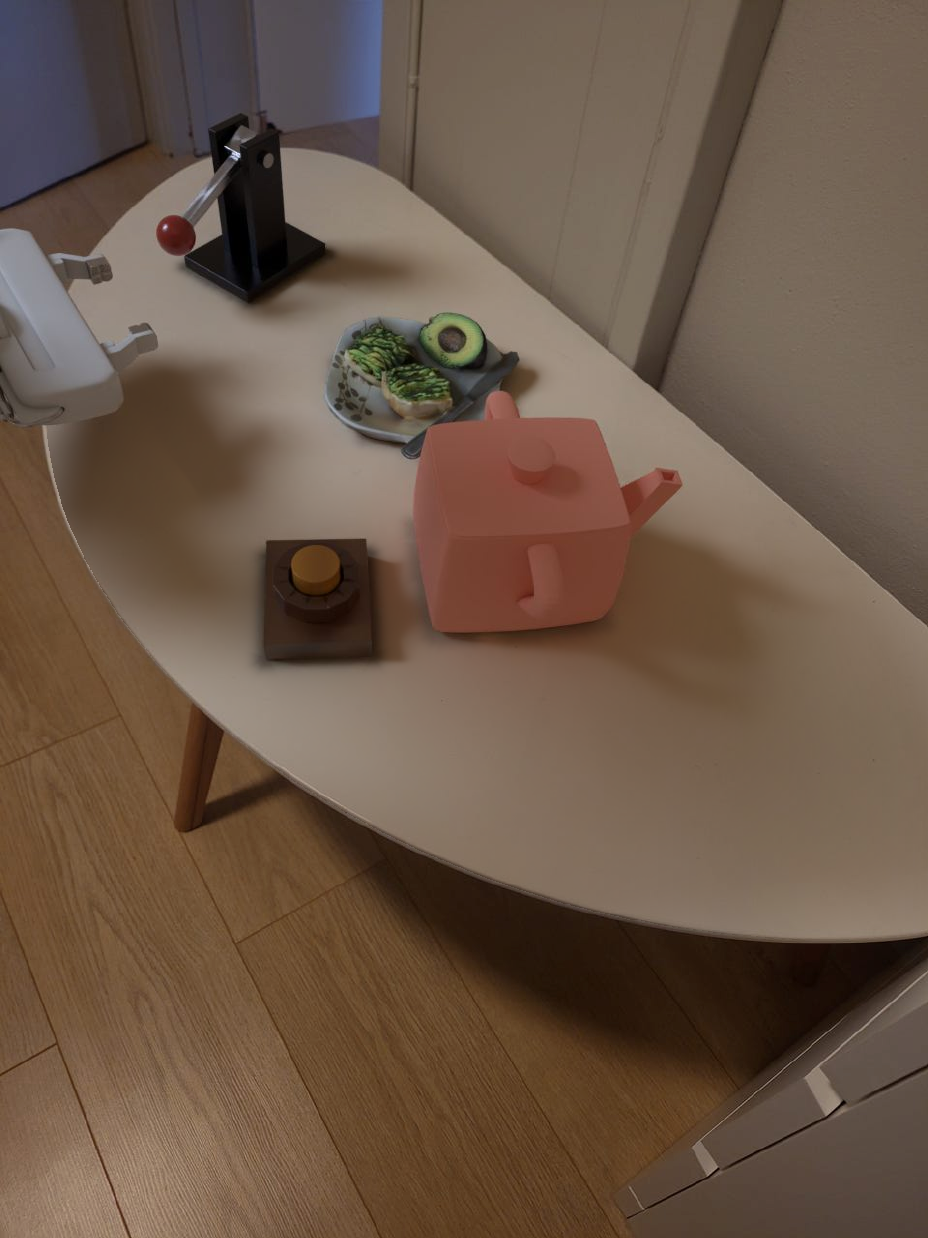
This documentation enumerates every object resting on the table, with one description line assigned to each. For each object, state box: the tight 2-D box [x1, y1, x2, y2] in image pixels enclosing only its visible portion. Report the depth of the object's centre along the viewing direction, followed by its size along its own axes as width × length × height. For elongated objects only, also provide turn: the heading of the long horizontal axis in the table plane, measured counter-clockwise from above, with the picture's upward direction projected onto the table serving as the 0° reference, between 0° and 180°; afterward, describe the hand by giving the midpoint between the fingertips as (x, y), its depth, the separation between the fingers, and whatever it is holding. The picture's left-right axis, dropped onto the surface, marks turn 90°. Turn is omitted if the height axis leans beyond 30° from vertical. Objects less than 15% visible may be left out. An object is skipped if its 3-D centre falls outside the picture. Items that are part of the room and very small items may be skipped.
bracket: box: [183, 112, 326, 304], centre depth 92 cm, size 12×9×14 cm
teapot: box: [412, 390, 684, 633], centre depth 71 cm, size 20×22×14 cm
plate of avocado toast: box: [323, 312, 521, 460], centre depth 85 cm, size 19×18×5 cm
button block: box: [262, 538, 373, 661], centre depth 71 cm, size 8×10×4 cm
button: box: [291, 545, 340, 596], centre depth 69 cm, size 4×4×2 cm
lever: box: [155, 125, 259, 257], centre depth 87 cm, size 14×4×4 cm, turn 144°
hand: (131, 299), depth 77 cm, fingers open, 8 cm apart
